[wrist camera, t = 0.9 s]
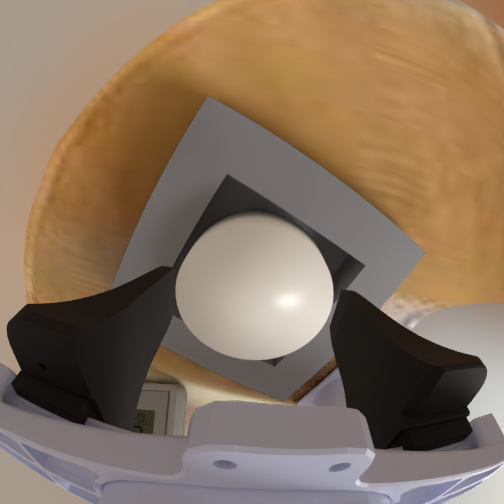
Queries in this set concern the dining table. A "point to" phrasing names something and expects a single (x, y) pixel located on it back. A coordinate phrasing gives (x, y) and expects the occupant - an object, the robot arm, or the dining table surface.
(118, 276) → the button housing
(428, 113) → the dining table surface
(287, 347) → the button cap
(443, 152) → the dining table surface
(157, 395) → the digital clock
